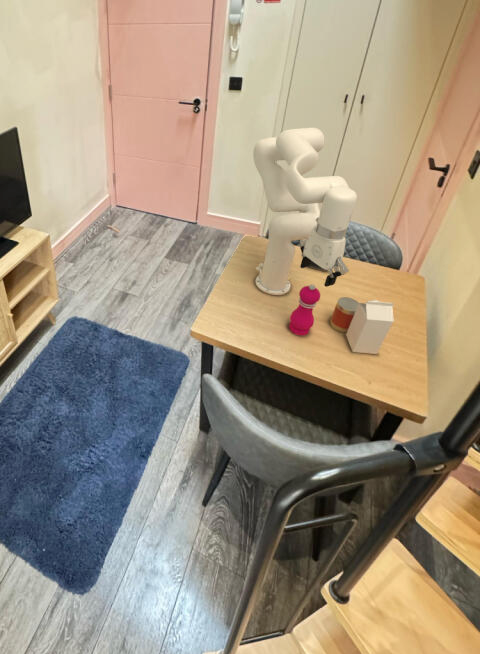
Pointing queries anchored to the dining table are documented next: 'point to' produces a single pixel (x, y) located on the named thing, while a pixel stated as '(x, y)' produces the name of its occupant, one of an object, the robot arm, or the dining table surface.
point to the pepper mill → (304, 310)
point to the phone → (316, 266)
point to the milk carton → (370, 326)
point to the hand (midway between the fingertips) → (316, 275)
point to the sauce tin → (343, 313)
